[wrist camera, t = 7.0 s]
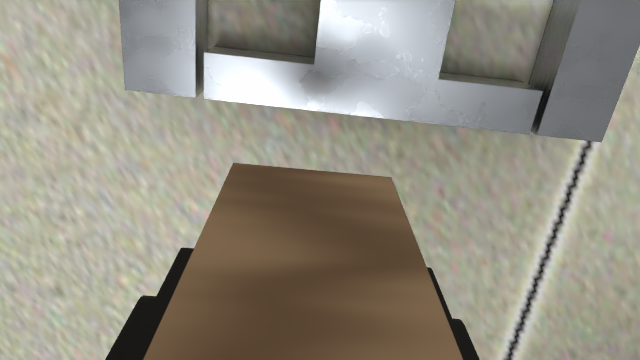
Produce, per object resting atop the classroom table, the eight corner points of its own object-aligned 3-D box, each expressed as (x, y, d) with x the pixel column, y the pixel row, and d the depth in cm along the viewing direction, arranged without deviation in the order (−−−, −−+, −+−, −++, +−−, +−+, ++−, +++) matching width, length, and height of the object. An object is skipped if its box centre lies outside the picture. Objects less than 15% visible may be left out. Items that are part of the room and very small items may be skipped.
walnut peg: (391, 177, 14) (537, 549, 5) (367, 302, 16) (438, 729, 7) (233, 163, 14) (67, 527, 4) (230, 291, 16) (111, 720, 7)
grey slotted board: (646, -66, 26) (685, -73, 23) (576, 128, 31) (601, 142, 28) (132, -135, 24) (108, -150, 22) (143, 80, 29) (124, 89, 26)
